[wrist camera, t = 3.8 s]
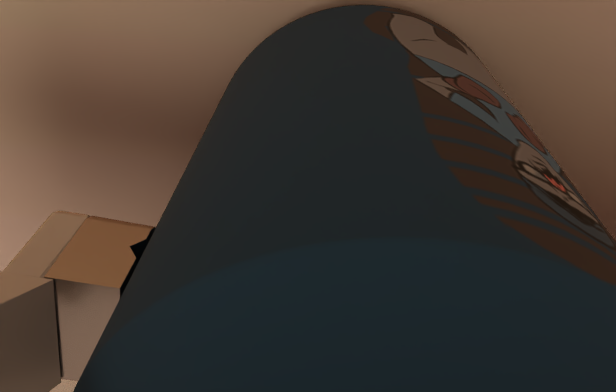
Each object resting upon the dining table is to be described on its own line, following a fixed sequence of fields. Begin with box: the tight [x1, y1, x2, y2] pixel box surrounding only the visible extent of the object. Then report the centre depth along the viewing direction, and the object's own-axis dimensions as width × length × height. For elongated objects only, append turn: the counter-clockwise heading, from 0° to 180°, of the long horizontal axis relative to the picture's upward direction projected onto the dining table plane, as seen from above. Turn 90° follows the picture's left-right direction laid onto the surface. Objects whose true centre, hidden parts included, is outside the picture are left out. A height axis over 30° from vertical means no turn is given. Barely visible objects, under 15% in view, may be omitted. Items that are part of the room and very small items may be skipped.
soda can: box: [73, 5, 616, 392], centre depth 10 cm, size 7×7×12 cm
